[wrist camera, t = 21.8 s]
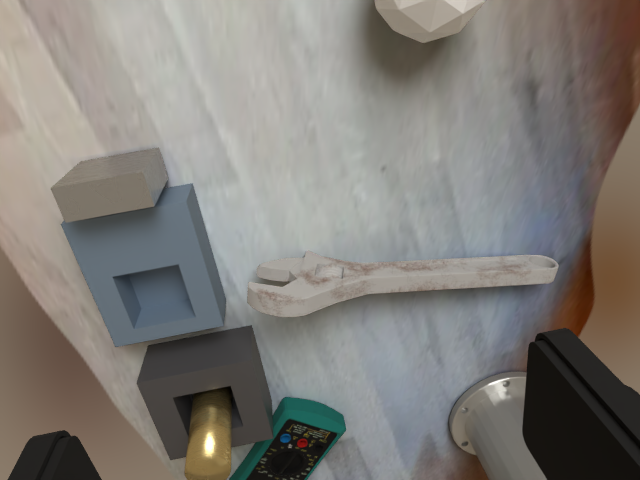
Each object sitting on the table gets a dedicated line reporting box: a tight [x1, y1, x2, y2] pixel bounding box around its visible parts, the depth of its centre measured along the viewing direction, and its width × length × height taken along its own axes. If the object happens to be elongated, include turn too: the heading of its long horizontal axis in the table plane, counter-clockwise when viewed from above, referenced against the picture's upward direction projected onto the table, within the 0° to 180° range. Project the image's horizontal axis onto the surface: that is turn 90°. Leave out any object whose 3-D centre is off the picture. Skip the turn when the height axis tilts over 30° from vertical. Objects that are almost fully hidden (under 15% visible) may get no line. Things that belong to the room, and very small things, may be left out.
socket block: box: [61, 183, 226, 347], centre depth 39 cm, size 12×9×4 cm
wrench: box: [247, 251, 559, 317], centre depth 42 cm, size 8×2×30 cm
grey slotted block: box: [137, 325, 273, 460], centre depth 45 cm, size 10×10×5 cm
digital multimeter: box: [229, 397, 346, 480], centre depth 52 cm, size 8×15×3 cm, turn 151°
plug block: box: [51, 148, 168, 223], centre depth 35 cm, size 9×6×6 cm
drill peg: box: [185, 386, 232, 480], centre depth 42 cm, size 4×4×10 cm
